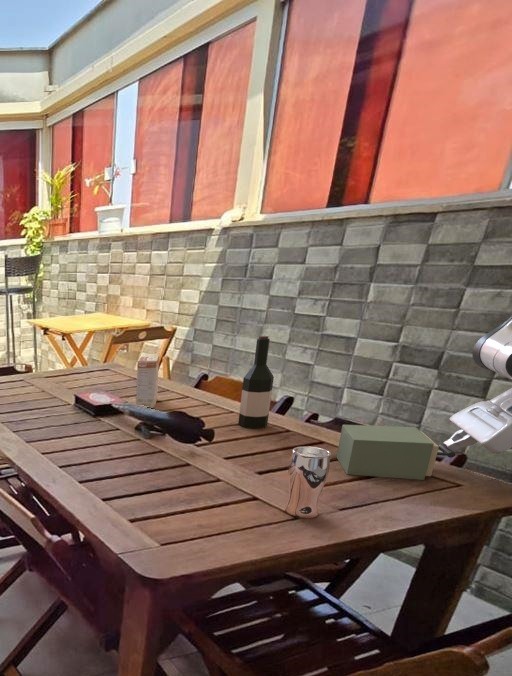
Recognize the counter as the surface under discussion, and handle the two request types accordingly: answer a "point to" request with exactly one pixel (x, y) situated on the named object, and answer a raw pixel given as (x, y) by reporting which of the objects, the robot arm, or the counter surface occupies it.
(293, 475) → the beer glass
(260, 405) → the wine bottle
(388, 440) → the cabinet
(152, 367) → the coffeecake box
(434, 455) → the drawer
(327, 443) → the counter surface
